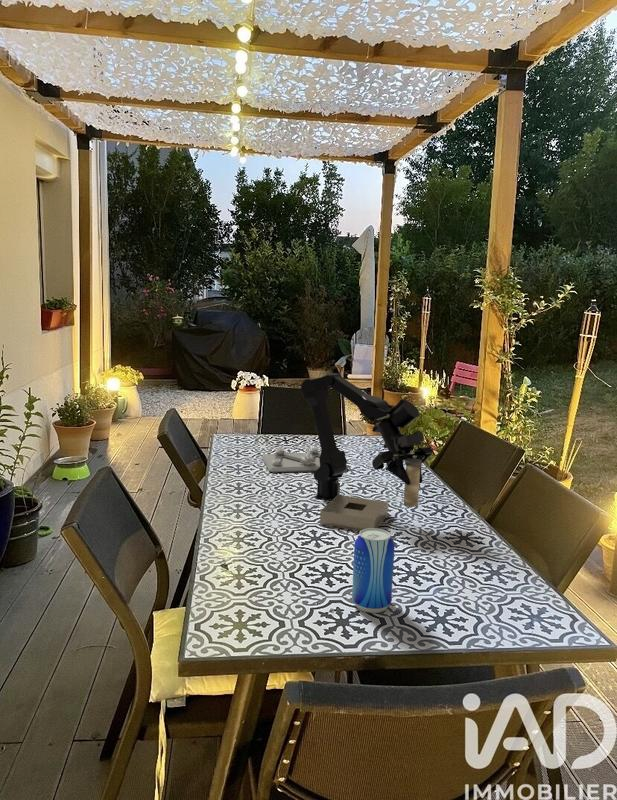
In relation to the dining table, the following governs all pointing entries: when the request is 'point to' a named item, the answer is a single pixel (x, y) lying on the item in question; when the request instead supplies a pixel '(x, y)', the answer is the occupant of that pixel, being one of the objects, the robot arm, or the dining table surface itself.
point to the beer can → (373, 570)
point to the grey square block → (354, 513)
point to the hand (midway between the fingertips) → (415, 483)
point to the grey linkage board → (292, 461)
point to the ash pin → (412, 482)
